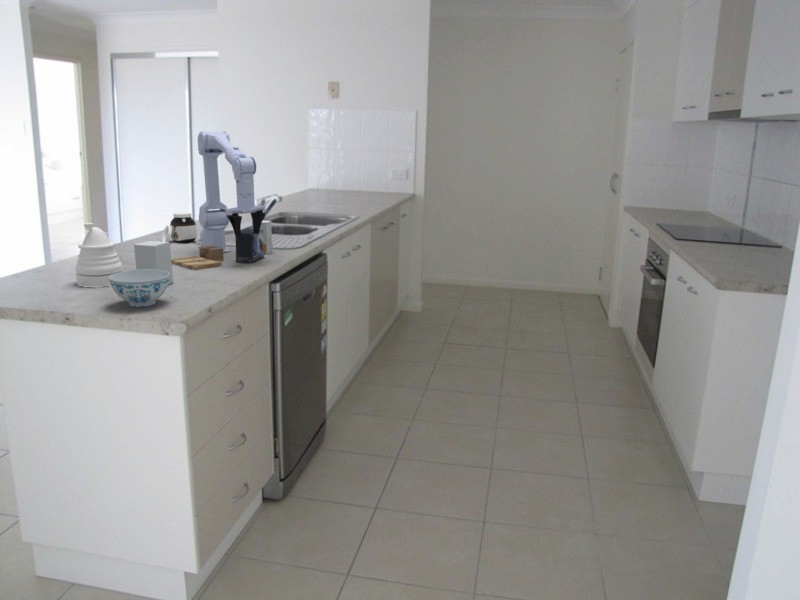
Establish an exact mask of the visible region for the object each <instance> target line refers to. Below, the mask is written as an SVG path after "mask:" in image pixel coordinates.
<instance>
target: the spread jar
mask: <svg viewBox="0 0 800 600" xmlns="http://www.w3.org/2000/svg"><path fill="white" fill-rule="evenodd" d="M172 215H173V218H172V219H171V221H170V224H169V225H166V226H165V227H164V230H163V234H162V242H170V240H171V239H172V241H173V242H174V243H176V244H189V242H191V243H193V242H195V240H196V239H197V235H198V234H197V232H198V231H197V223H196V221H195V220H194V219H193V217H192V212H191V211H189V212H188V211H185V212H184V211H178V212H173V214H172Z"/></svg>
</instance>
